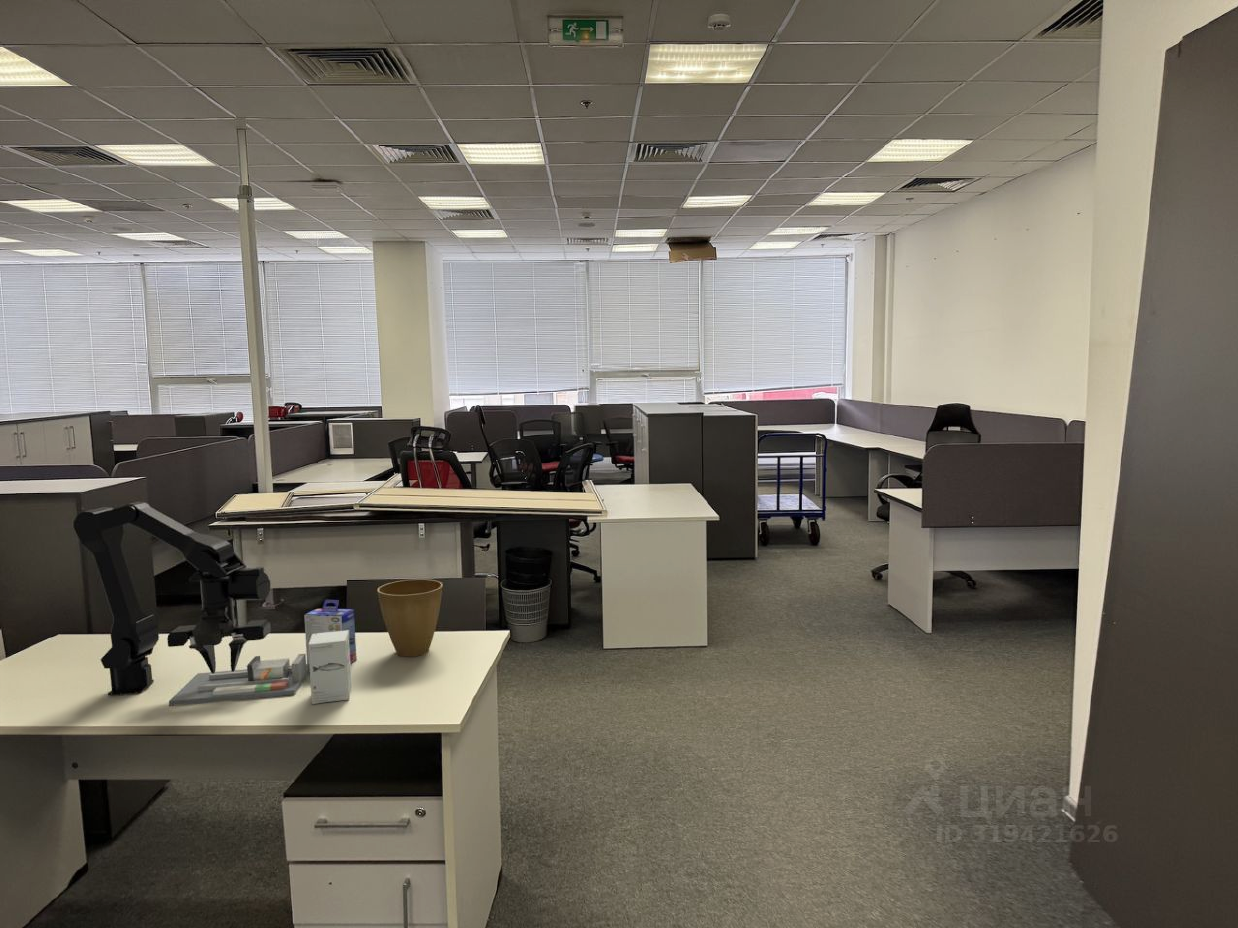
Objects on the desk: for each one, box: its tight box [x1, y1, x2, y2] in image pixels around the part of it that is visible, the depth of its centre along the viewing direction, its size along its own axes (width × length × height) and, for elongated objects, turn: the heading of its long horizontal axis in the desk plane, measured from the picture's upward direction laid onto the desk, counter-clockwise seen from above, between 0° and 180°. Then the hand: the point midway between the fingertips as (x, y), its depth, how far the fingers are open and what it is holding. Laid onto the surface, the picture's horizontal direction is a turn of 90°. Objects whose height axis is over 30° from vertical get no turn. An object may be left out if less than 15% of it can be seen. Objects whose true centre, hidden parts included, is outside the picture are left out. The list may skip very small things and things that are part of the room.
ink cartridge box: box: [303, 599, 357, 664], centre depth 172 cm, size 10×6×14 cm, turn 78°
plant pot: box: [377, 578, 444, 658], centre depth 177 cm, size 15×15×16 cm
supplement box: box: [308, 630, 352, 705], centre depth 153 cm, size 7×7×13 cm
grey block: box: [246, 655, 291, 681], centre depth 158 cm, size 7×10×4 cm
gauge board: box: [168, 653, 310, 707], centre depth 160 cm, size 24×15×5 cm, turn 100°
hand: (223, 671), depth 159 cm, fingers open, 4 cm apart
